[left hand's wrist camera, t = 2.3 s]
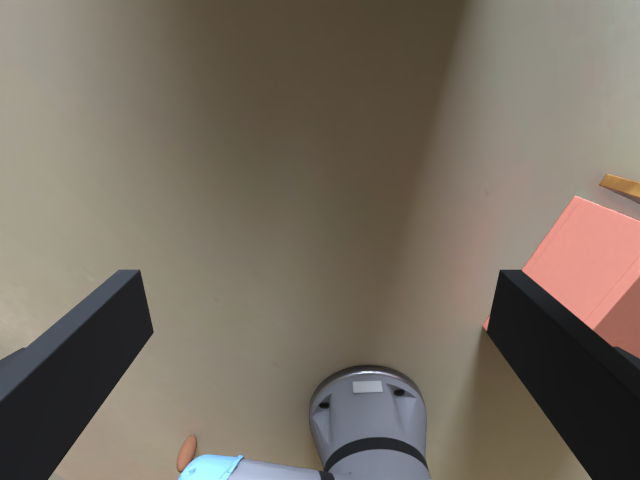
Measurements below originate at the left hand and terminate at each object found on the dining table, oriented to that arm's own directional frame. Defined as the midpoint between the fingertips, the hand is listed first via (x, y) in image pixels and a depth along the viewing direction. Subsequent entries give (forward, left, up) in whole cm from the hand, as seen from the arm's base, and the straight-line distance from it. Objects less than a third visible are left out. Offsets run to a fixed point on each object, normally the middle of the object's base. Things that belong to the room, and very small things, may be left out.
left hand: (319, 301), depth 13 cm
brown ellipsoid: (-32, +26, -23) cm, 47 cm away
